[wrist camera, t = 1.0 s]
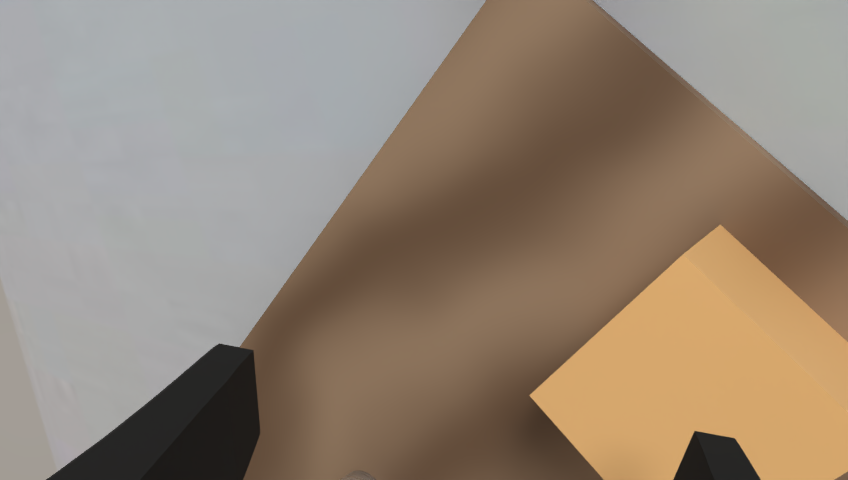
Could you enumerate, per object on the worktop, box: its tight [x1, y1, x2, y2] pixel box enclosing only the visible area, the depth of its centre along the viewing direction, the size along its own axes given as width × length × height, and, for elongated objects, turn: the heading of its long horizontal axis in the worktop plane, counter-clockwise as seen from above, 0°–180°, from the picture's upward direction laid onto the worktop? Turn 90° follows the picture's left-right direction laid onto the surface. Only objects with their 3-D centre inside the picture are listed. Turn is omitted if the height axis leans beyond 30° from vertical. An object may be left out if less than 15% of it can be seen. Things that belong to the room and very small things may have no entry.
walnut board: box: [240, 0, 848, 480], centre depth 24 cm, size 20×25×2 cm
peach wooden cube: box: [529, 225, 848, 480], centre depth 17 cm, size 5×5×5 cm
